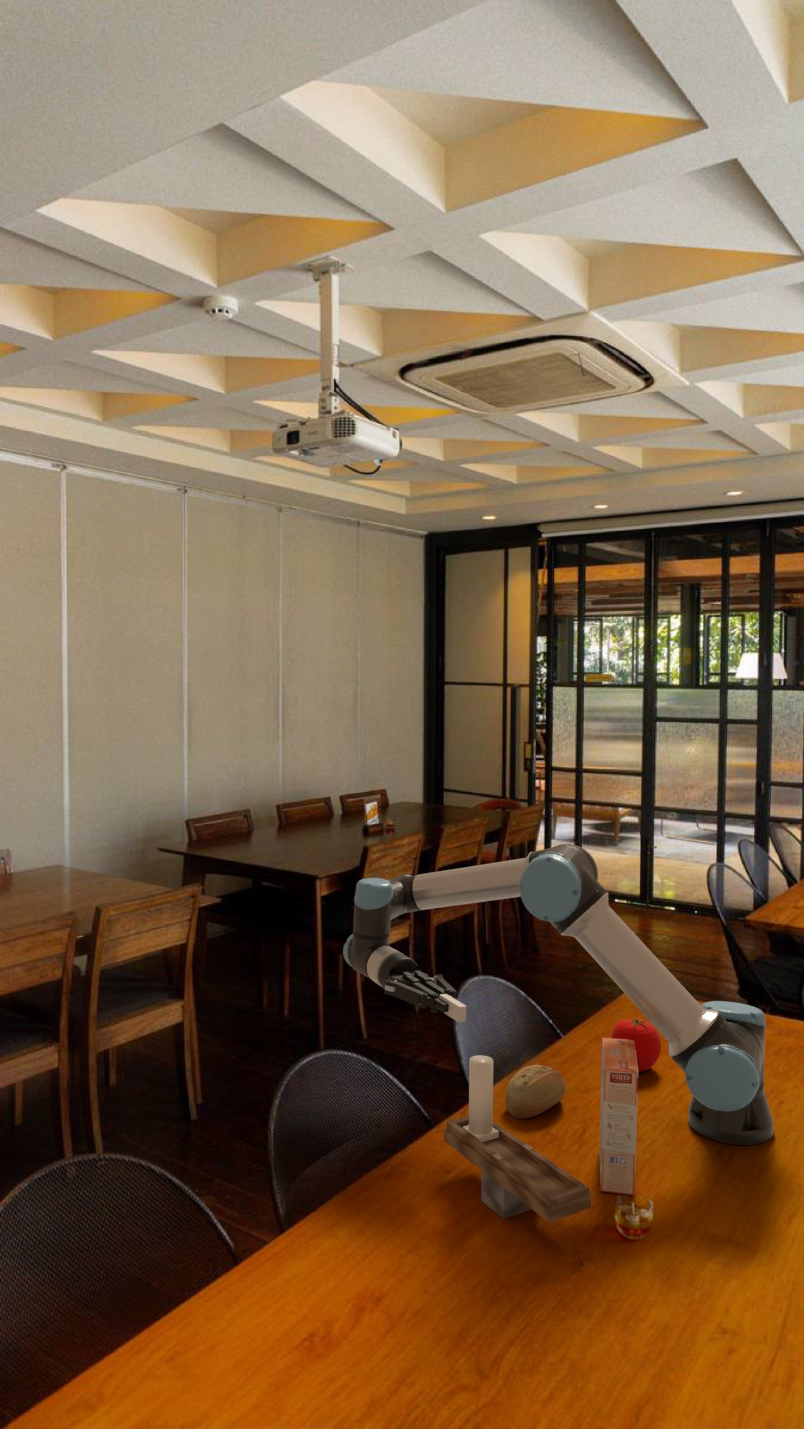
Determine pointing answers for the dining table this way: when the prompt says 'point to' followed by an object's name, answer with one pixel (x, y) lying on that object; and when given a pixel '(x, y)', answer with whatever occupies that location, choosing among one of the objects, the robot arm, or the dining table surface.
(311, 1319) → the dining table surface
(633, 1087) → the cracker box
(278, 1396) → the dining table surface
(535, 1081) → the bread roll
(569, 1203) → the beam
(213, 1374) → the dining table surface
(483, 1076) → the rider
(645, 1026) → the tomato
